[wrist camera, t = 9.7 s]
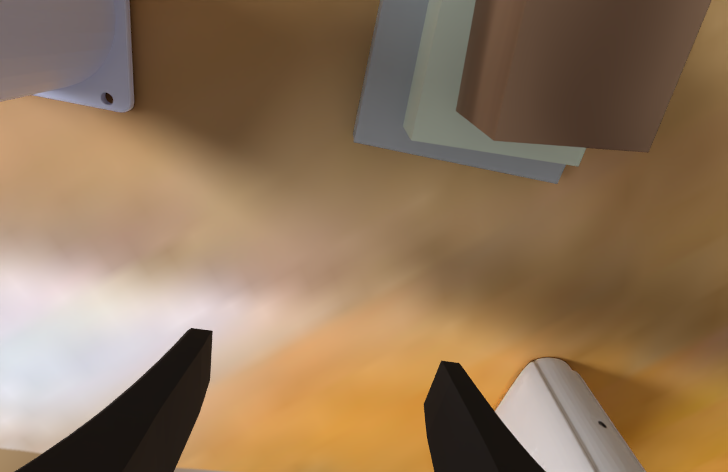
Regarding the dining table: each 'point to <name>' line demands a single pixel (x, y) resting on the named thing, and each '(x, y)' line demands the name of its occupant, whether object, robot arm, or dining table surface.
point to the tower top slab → (441, 89)
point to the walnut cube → (576, 69)
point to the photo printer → (563, 422)
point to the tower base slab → (391, 93)
